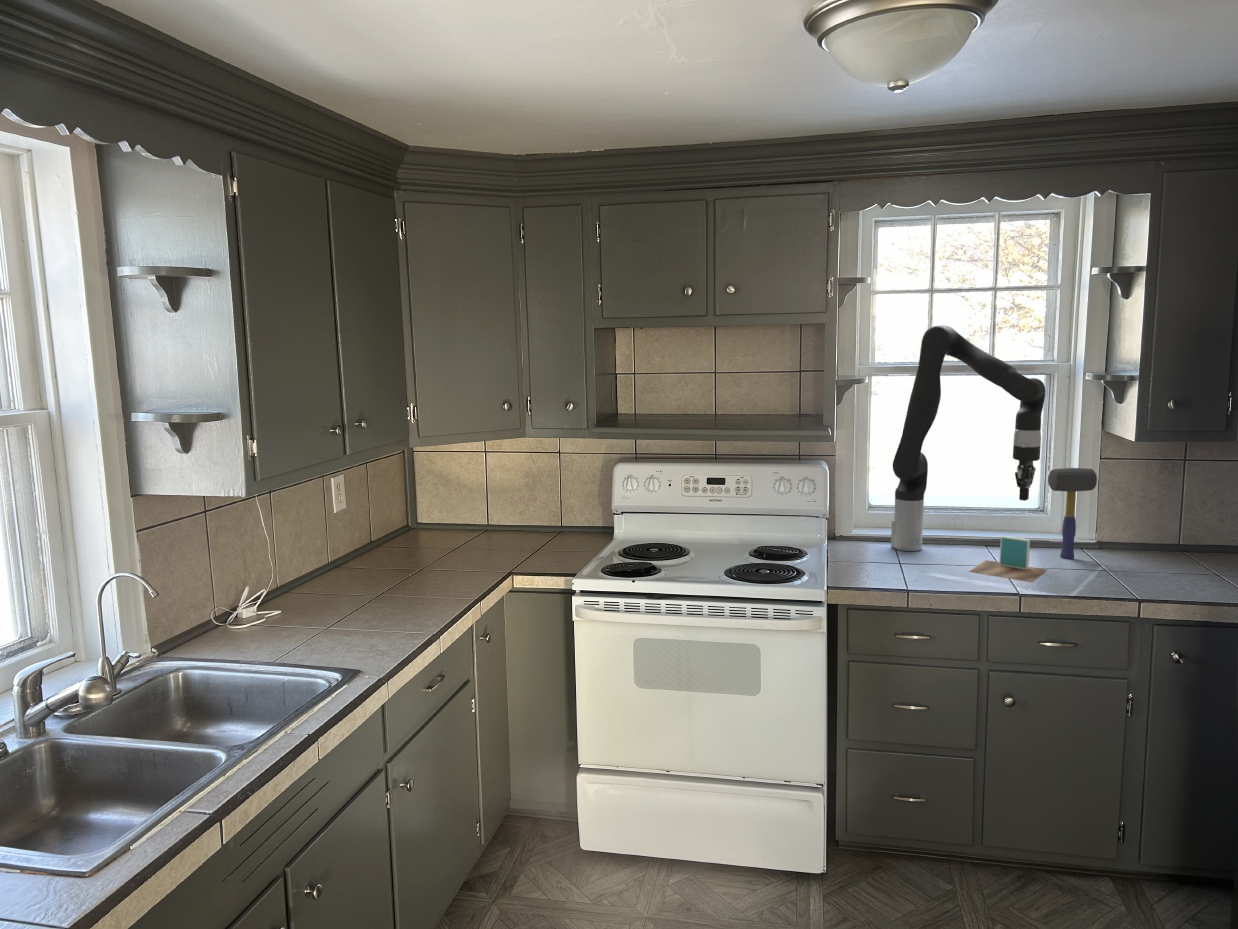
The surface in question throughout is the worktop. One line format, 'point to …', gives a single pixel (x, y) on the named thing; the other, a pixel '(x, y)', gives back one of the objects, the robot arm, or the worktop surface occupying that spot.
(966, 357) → the robot arm
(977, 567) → the board
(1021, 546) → the block
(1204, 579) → the worktop surface
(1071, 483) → the rubber mallet
